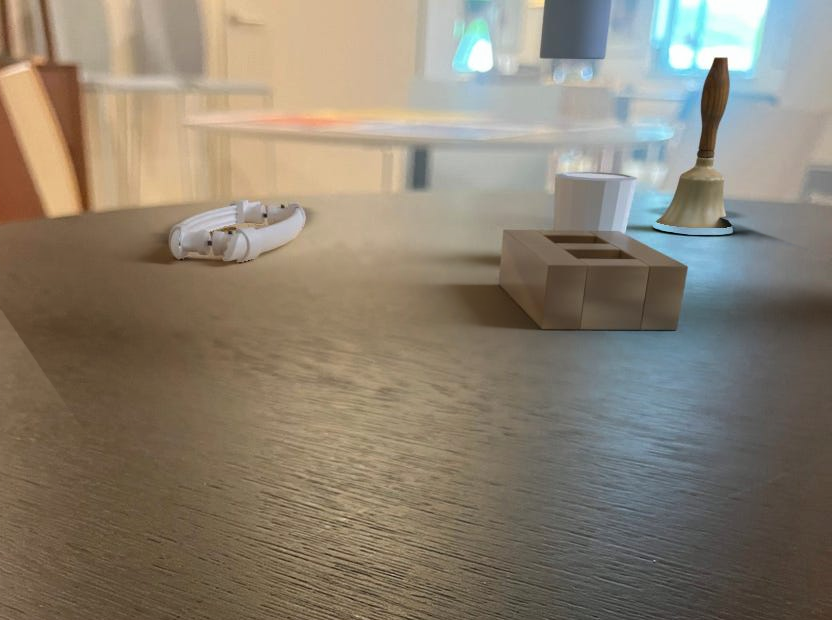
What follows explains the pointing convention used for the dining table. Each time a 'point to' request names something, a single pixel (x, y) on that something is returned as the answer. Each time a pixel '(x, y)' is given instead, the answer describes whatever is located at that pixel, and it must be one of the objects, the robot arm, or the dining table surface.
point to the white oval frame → (237, 230)
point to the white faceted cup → (593, 201)
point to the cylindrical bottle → (575, 29)
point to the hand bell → (704, 162)
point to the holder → (591, 280)
